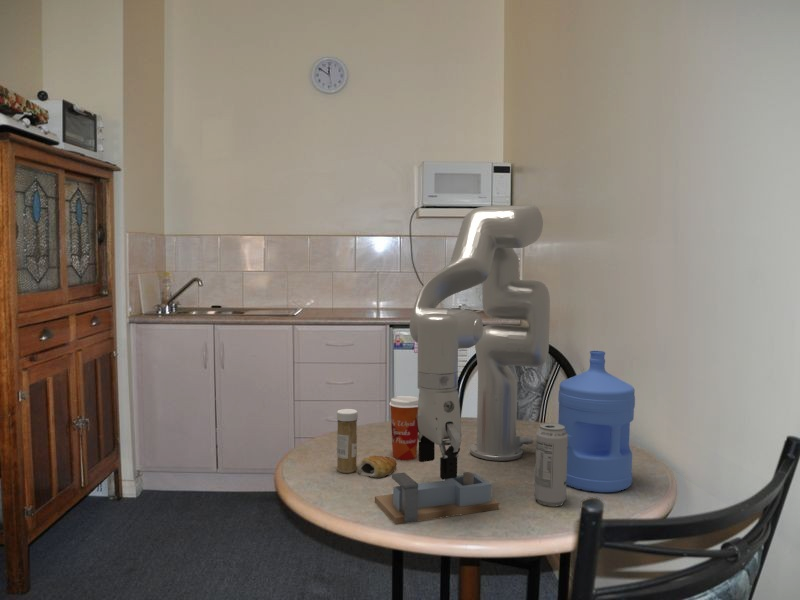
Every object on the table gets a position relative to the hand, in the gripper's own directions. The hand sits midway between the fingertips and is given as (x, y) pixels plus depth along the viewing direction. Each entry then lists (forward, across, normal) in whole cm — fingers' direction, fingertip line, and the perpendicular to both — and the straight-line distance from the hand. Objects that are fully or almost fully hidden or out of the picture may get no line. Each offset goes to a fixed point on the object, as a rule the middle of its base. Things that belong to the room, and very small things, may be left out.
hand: (437, 469), depth 120 cm
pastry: (+8, +23, +4) cm, 25 cm away
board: (+7, +1, 0) cm, 7 cm away
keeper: (+7, -1, +7) cm, 10 cm away
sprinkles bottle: (+8, +26, +10) cm, 29 cm away
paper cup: (+9, +31, -6) cm, 33 cm away
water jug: (+9, +2, -38) cm, 39 cm away
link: (+6, -1, 0) cm, 6 cm away
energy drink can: (+8, -5, -22) cm, 24 cm away
